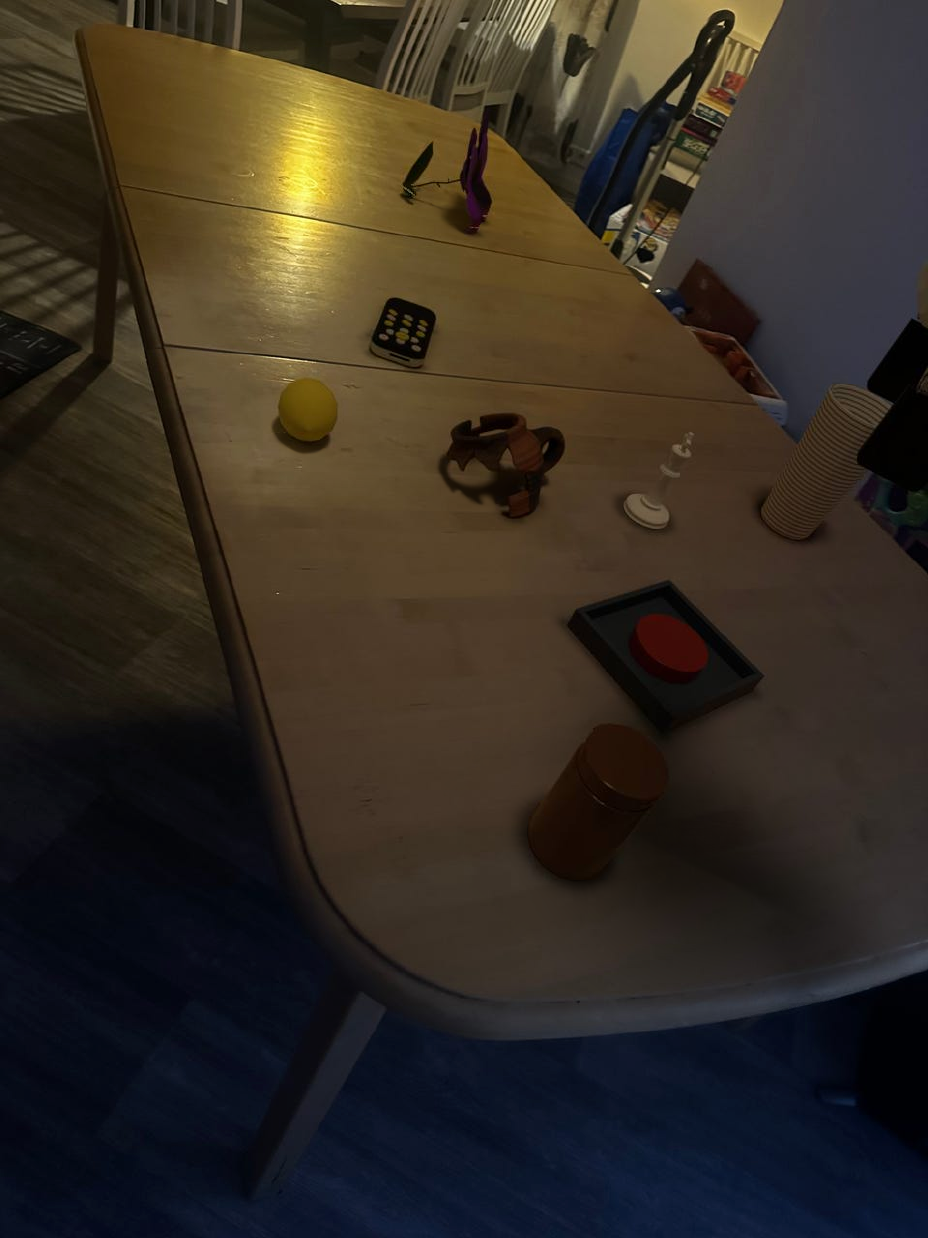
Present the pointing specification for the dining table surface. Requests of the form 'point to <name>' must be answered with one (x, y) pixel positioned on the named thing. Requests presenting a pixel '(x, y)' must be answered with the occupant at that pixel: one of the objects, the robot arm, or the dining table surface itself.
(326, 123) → the dining table surface
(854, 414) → the cup
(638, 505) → the chess piece
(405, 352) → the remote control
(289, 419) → the lemon
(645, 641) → the jar lid
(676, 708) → the tray
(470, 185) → the flower
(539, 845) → the jar
